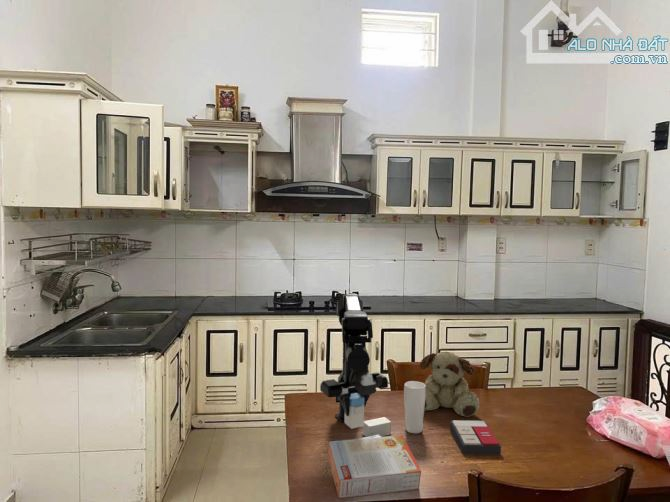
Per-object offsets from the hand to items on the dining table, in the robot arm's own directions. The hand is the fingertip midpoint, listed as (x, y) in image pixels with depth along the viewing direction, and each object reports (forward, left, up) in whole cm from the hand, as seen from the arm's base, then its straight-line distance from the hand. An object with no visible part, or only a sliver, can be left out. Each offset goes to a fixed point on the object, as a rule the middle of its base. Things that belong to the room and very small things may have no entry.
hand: (354, 414), depth 126 cm
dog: (-18, +49, -13) cm, 54 cm away
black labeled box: (+7, +38, -13) cm, 41 cm away
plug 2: (-10, +14, -13) cm, 21 cm away
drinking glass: (-7, +26, -13) cm, 30 cm away
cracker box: (+14, +10, -9) cm, 19 cm away
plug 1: (0, 0, -3) cm, 3 cm away
